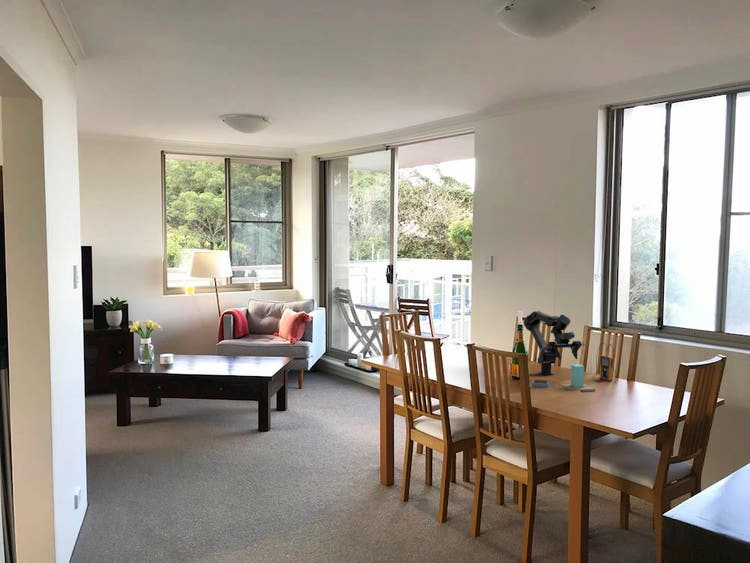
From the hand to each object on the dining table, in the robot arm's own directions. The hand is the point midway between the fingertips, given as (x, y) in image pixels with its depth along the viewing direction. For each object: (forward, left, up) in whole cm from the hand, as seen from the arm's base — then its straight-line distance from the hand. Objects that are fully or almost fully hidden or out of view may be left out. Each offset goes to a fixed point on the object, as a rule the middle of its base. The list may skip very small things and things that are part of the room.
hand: (568, 359), depth 313 cm
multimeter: (-6, +23, -14) cm, 28 cm away
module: (+10, 0, -12) cm, 16 cm away
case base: (+4, -18, -14) cm, 23 cm away
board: (+10, 0, -14) cm, 17 cm away
